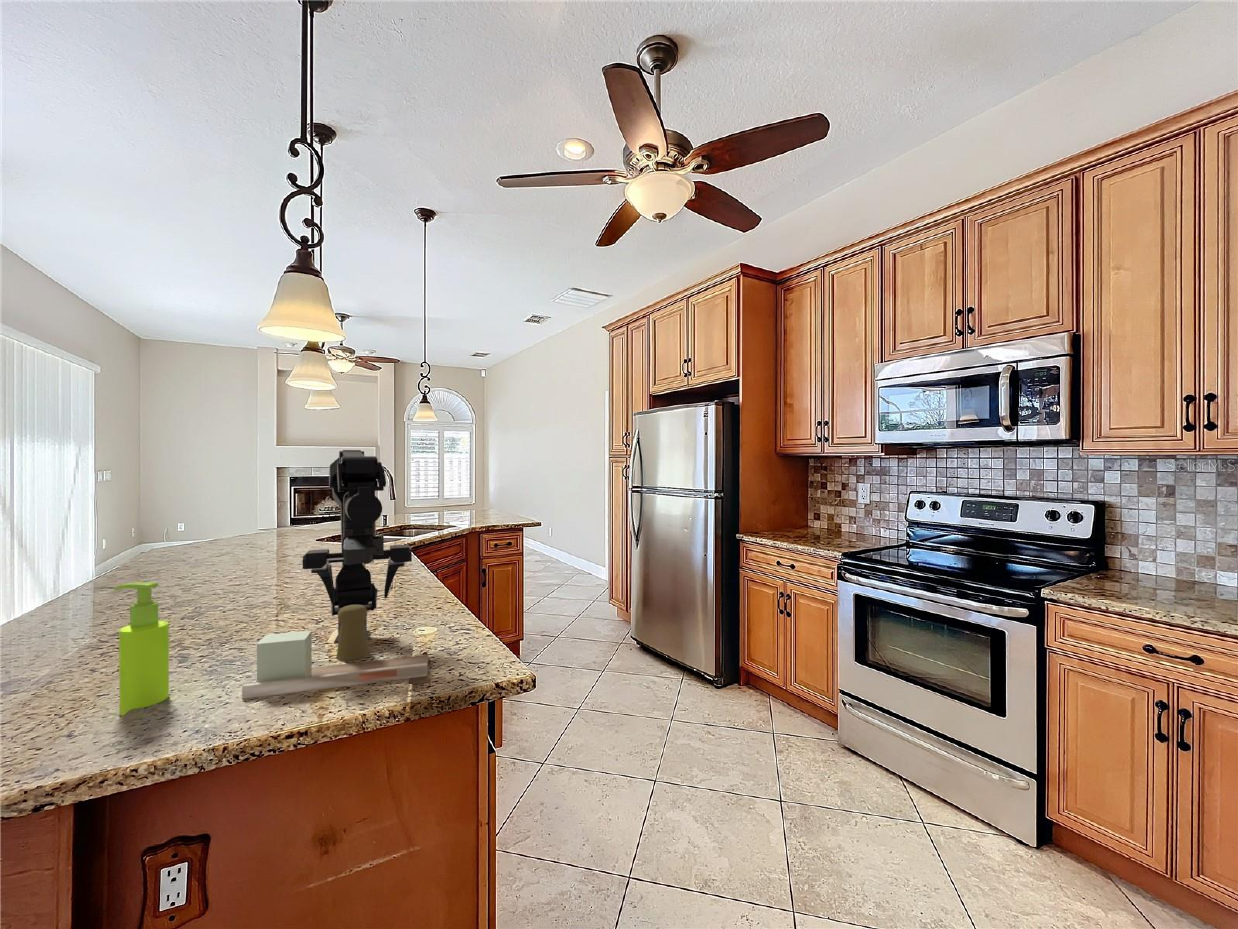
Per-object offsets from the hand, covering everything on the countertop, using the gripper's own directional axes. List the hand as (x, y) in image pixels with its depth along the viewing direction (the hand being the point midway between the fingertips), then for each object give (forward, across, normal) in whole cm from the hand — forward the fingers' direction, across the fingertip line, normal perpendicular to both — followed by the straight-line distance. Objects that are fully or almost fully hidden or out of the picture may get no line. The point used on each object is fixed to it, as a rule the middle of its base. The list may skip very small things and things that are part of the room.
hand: (359, 600), depth 104 cm
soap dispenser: (+12, -31, -7) cm, 34 cm away
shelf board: (+12, -2, -8) cm, 15 cm away
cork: (+12, -1, +2) cm, 13 cm away
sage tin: (+11, -11, -8) cm, 18 cm away
